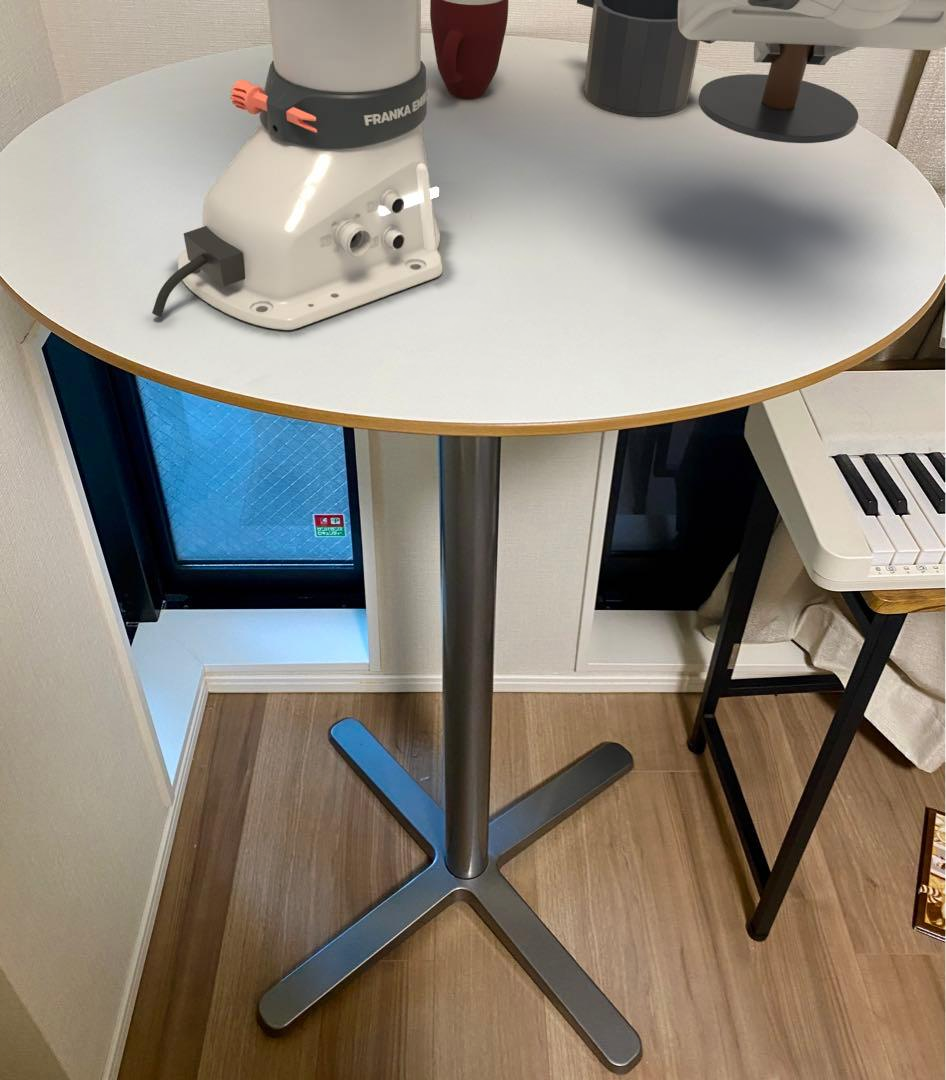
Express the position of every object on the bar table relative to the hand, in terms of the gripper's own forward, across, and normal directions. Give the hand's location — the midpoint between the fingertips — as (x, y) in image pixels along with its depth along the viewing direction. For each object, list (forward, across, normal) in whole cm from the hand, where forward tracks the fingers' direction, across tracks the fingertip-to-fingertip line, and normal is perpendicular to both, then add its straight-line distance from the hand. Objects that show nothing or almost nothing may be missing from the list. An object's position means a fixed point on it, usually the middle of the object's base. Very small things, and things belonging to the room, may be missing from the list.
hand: (787, 54), depth 76 cm
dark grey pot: (+34, +4, -12) cm, 36 cm away
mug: (+33, +24, -10) cm, 42 cm away
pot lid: (+2, 0, +3) cm, 4 cm away
